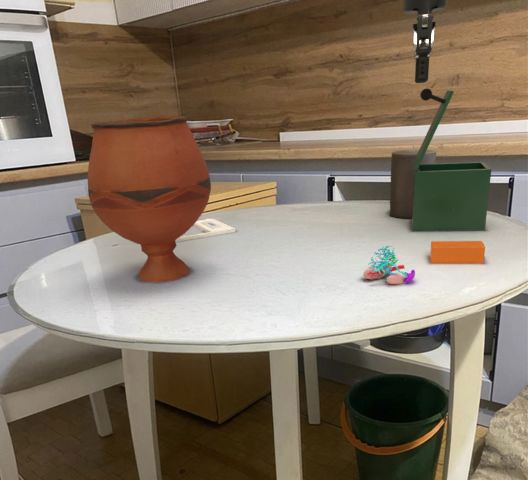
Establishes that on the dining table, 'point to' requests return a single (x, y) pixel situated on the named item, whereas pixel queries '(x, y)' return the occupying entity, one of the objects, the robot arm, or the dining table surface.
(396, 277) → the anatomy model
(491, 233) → the dining table surface
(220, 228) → the photo frame
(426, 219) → the bin
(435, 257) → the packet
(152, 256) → the goblet
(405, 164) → the pillar candle
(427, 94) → the bin lid
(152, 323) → the dining table surface
